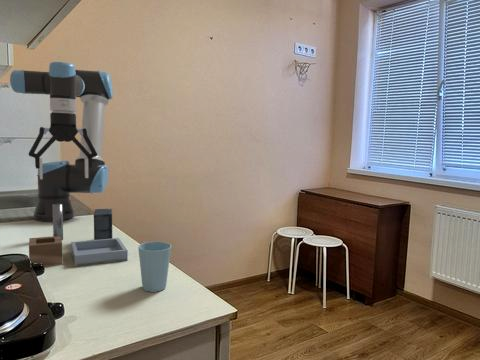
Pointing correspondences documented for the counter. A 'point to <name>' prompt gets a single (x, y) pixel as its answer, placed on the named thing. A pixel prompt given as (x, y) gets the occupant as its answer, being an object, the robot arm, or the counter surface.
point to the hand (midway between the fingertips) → (64, 178)
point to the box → (102, 224)
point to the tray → (98, 251)
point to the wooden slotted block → (46, 250)
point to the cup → (154, 265)
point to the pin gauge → (58, 220)
